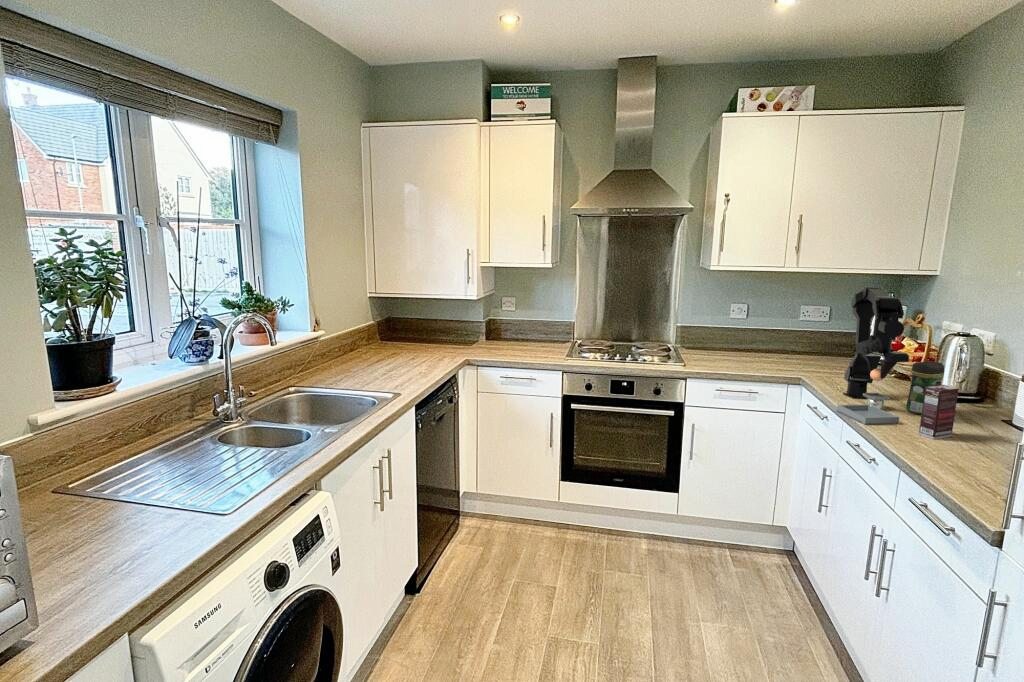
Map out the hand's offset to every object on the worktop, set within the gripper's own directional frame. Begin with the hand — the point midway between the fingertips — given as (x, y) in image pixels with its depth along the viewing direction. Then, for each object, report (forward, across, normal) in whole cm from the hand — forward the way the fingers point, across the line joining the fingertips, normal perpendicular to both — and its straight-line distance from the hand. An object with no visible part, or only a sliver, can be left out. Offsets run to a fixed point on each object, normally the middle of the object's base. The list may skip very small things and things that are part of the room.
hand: (877, 377), depth 192 cm
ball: (+1, 0, 0) cm, 1 cm away
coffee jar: (+13, 0, +19) cm, 23 cm away
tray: (+13, +5, -6) cm, 16 cm away
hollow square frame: (+13, -5, +5) cm, 15 cm away
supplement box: (+14, +23, +2) cm, 27 cm away
